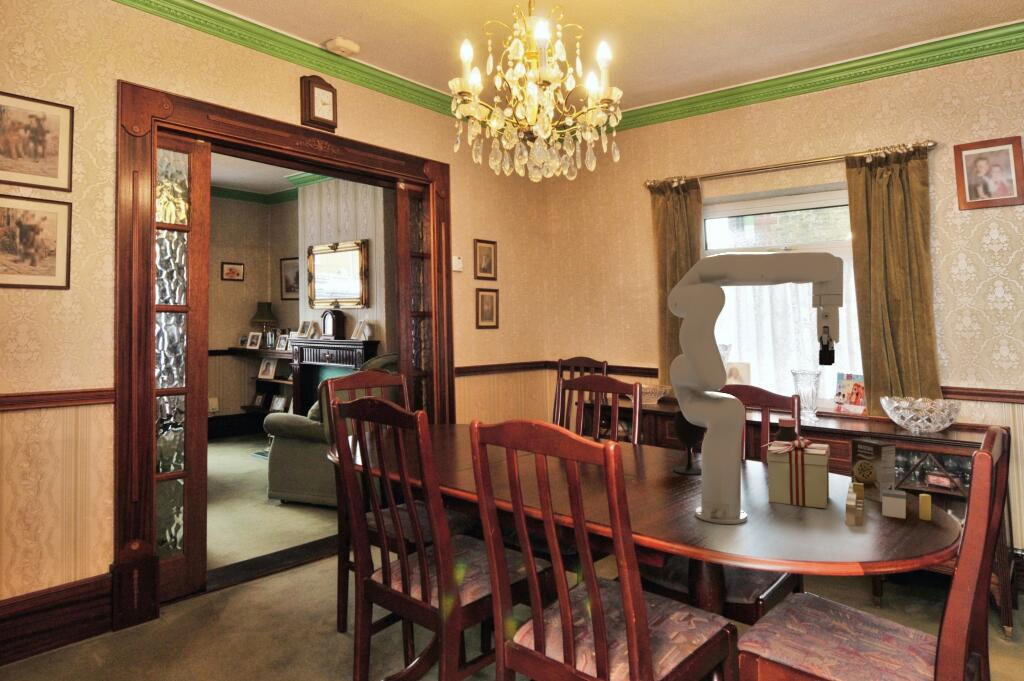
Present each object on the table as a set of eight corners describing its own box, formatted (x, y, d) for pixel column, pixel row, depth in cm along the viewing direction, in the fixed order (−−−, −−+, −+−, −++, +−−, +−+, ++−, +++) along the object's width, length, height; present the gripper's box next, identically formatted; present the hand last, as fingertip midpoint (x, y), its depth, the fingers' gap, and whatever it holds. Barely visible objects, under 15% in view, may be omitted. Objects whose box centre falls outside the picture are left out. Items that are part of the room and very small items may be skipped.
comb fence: (861, 526, 146) (862, 497, 146) (845, 524, 148) (845, 495, 147) (863, 502, 166) (864, 476, 166) (849, 500, 168) (849, 475, 168)
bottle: (794, 480, 190) (794, 417, 190) (802, 485, 184) (802, 420, 183) (771, 479, 191) (772, 417, 191) (779, 485, 184) (779, 420, 184)
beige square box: (905, 518, 152) (906, 495, 152) (882, 515, 154) (882, 492, 154) (905, 514, 155) (905, 491, 155) (882, 511, 158) (882, 488, 158)
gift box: (760, 488, 181) (760, 431, 180) (829, 495, 173) (829, 436, 172) (756, 503, 165) (756, 441, 165) (831, 512, 157) (832, 446, 157)
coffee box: (850, 494, 174) (850, 439, 174) (865, 491, 177) (865, 437, 176) (880, 502, 166) (880, 444, 165) (895, 500, 168) (896, 442, 168)
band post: (931, 520, 150) (931, 497, 150) (919, 519, 151) (919, 495, 151) (930, 518, 152) (930, 494, 152) (919, 516, 153) (919, 493, 153)
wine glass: (679, 466, 209) (679, 409, 209) (709, 470, 203) (709, 411, 203) (668, 472, 201) (668, 412, 201) (699, 476, 195) (699, 415, 194)
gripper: (841, 300, 155) (840, 366, 156) (844, 302, 170) (843, 363, 170) (809, 301, 159) (808, 365, 160) (815, 303, 174) (814, 362, 174)
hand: (826, 364), depth 165 cm, fingers open, 9 cm apart
